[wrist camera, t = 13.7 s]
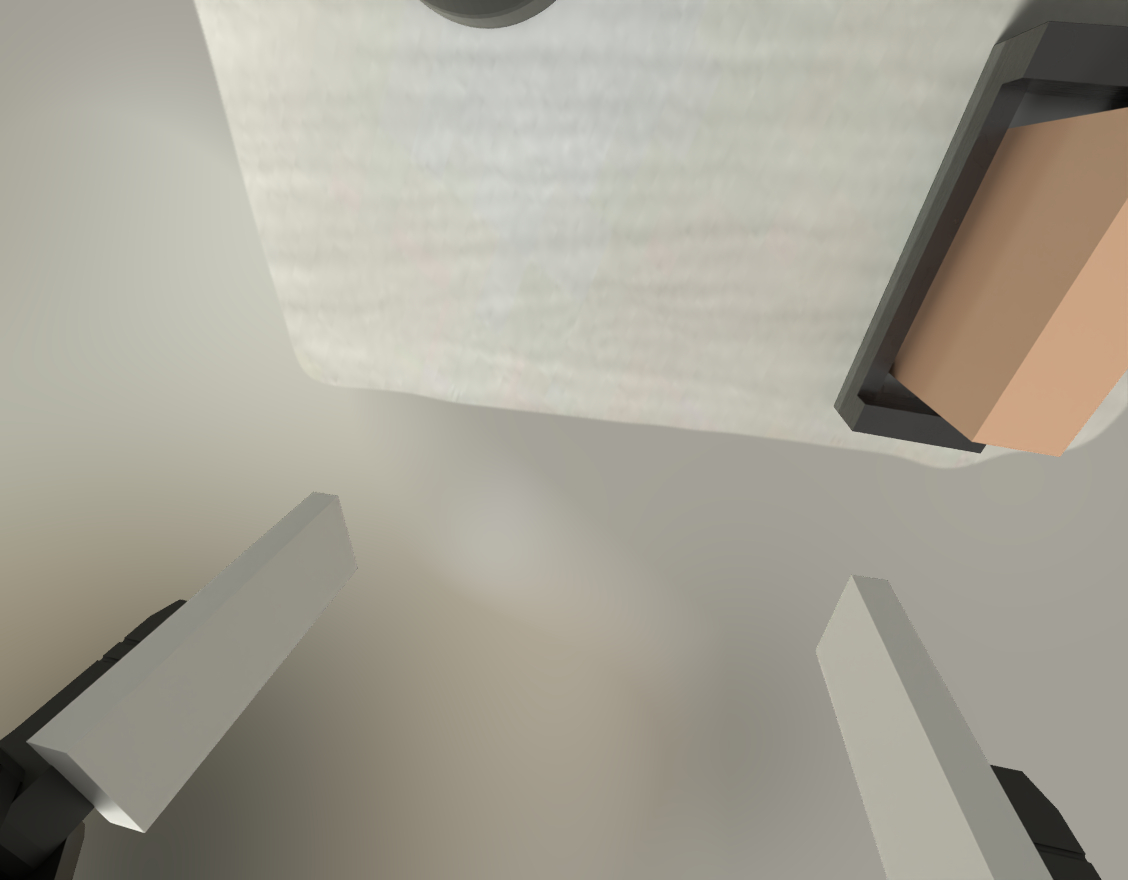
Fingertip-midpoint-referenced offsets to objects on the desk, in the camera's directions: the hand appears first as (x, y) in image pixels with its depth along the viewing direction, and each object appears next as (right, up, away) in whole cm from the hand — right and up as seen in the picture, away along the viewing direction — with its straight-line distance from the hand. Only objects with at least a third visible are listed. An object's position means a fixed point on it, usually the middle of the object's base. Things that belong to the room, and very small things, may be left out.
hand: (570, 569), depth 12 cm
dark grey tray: (+25, +14, +16) cm, 33 cm away
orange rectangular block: (+25, +14, +16) cm, 32 cm away
